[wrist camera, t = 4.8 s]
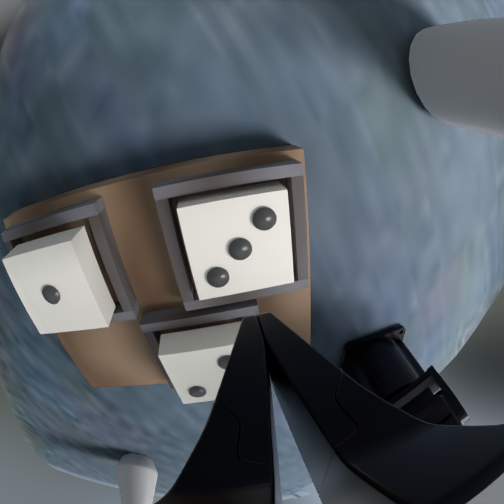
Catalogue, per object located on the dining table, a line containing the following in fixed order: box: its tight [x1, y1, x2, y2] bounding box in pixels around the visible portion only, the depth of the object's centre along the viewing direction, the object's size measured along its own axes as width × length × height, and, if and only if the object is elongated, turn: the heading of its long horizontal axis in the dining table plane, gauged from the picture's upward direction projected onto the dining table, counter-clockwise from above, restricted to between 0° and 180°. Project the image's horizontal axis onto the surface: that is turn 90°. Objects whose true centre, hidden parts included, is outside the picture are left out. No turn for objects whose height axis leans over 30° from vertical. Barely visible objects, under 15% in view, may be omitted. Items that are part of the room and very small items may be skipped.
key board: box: [0, 145, 311, 394], centre depth 17 cm, size 18×15×3 cm
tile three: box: [177, 181, 294, 300], centre depth 14 cm, size 5×5×2 cm
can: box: [409, 18, 504, 137], centre depth 9 cm, size 8×8×12 cm
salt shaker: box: [116, 453, 158, 504], centre depth 24 cm, size 6×6×13 cm
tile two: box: [158, 321, 242, 404], centre depth 17 cm, size 5×5×2 cm
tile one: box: [2, 226, 116, 334], centre depth 13 cm, size 5×5×2 cm
